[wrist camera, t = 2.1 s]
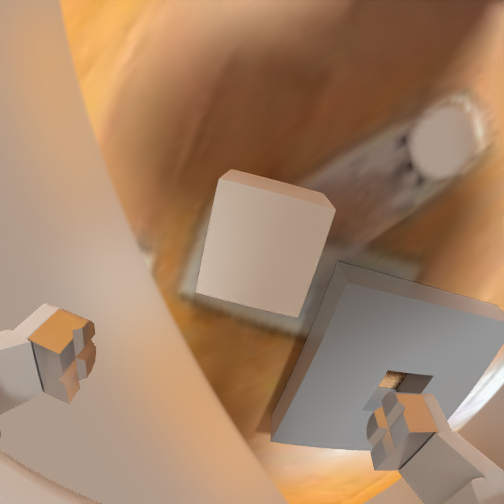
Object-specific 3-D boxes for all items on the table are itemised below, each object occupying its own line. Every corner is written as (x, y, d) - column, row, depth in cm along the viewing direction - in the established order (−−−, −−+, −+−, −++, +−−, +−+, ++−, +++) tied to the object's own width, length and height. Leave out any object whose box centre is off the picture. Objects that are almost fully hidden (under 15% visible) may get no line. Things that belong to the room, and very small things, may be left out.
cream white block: (238, 163, 21) (218, 178, 14) (316, 184, 21) (335, 209, 14) (219, 243, 23) (195, 292, 16) (292, 262, 23) (297, 318, 16)
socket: (337, 261, 23) (347, 282, 20) (496, 305, 23) (514, 323, 20) (271, 415, 30) (270, 441, 26) (412, 428, 30) (420, 449, 27)
